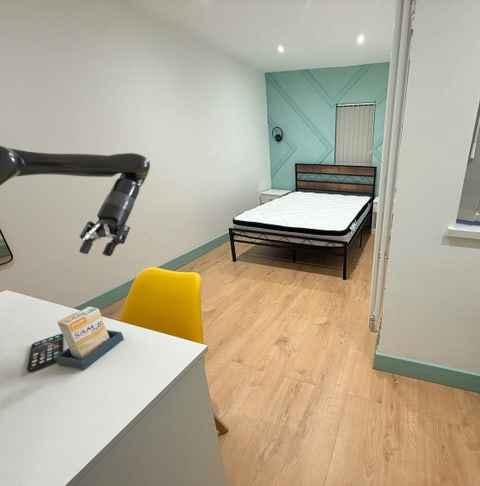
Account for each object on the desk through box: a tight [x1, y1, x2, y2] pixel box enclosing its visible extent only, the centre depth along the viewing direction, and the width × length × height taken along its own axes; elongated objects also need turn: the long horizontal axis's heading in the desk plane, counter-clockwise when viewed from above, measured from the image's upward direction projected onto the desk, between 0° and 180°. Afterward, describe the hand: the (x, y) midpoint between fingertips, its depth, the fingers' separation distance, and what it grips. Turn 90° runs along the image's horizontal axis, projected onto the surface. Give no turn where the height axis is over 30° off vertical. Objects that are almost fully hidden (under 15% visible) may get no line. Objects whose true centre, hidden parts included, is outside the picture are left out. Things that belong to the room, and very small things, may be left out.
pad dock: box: [54, 329, 125, 371], centre depth 80 cm, size 10×13×3 cm
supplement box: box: [57, 306, 110, 360], centre depth 78 cm, size 8×5×13 cm, turn 160°
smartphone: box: [26, 333, 64, 373], centre depth 80 cm, size 7×1×15 cm
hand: (94, 254), depth 80 cm, fingers open, 8 cm apart
